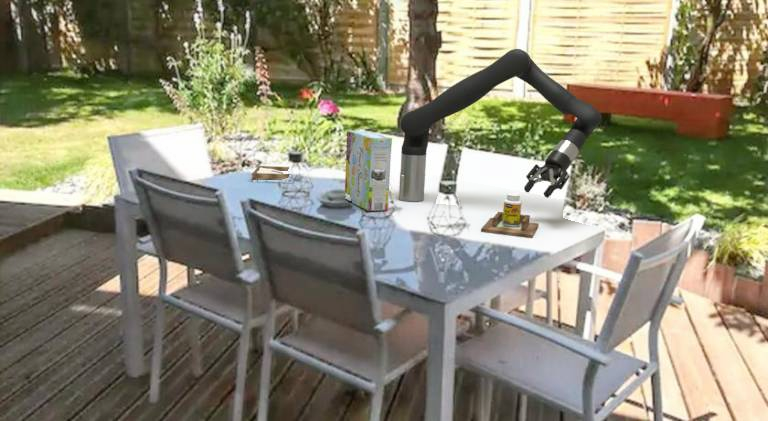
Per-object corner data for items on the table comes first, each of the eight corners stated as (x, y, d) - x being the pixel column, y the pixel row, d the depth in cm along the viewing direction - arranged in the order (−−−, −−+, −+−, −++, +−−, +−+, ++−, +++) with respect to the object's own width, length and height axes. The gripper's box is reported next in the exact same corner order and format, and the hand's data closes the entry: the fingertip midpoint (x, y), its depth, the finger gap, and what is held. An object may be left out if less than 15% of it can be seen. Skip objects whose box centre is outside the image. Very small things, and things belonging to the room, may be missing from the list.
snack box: (390, 211, 248) (393, 137, 242) (367, 212, 244) (370, 138, 238) (364, 197, 267) (366, 129, 261) (343, 199, 263) (345, 129, 257)
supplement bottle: (500, 226, 229) (503, 195, 226) (503, 222, 234) (505, 191, 232) (518, 228, 227) (521, 196, 225) (520, 224, 232) (523, 193, 230)
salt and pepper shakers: (253, 182, 289) (280, 183, 288) (253, 171, 288) (280, 173, 287) (260, 176, 300) (286, 178, 300) (260, 166, 299) (286, 168, 299)
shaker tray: (252, 181, 287) (252, 173, 286) (258, 173, 304) (258, 165, 303) (292, 183, 287) (293, 174, 287) (297, 175, 304) (297, 167, 303)
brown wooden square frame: (480, 231, 226) (481, 219, 225) (490, 220, 241) (491, 209, 240) (531, 238, 221) (532, 225, 220) (538, 226, 236) (539, 214, 235)
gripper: (541, 146, 242) (514, 182, 238) (574, 152, 230) (547, 190, 226) (550, 160, 246) (524, 196, 242) (583, 167, 235) (556, 205, 231)
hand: (535, 193), depth 234 cm, fingers open, 8 cm apart
